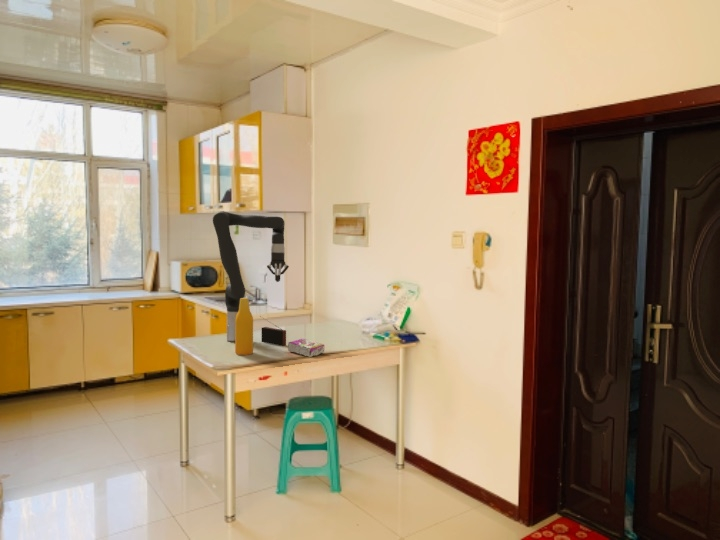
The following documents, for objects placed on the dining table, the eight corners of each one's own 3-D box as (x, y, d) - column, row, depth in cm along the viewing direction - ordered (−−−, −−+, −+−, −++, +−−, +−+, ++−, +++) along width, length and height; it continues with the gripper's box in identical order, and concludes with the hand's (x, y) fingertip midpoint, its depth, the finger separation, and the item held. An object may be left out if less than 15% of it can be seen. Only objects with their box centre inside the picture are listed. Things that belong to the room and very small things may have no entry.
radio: (286, 345, 296) (286, 318, 295) (282, 346, 294) (283, 319, 293) (262, 340, 307) (262, 315, 306) (259, 341, 304) (259, 316, 303)
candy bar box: (302, 337, 288) (324, 344, 278) (302, 346, 288) (324, 353, 278) (287, 341, 279) (310, 348, 269) (287, 350, 280) (310, 357, 270)
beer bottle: (231, 353, 274) (231, 298, 272) (244, 350, 282) (244, 296, 280) (243, 356, 269) (243, 300, 267) (256, 352, 277) (257, 298, 274)
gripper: (266, 251, 296) (266, 282, 297) (290, 252, 299) (289, 282, 300) (265, 251, 303) (265, 281, 304) (288, 251, 306) (288, 280, 307)
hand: (277, 281), depth 302 cm, fingers closed
